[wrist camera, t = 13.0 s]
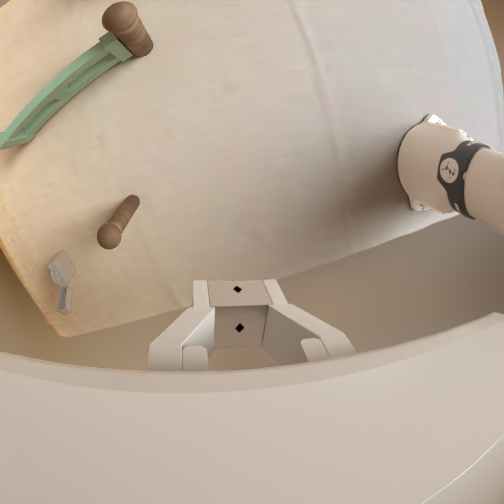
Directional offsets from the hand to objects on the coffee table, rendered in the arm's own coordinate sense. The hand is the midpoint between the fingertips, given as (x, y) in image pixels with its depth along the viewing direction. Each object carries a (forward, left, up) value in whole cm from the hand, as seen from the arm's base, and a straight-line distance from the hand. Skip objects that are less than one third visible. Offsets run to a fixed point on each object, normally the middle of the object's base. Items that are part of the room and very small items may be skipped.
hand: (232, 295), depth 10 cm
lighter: (+22, +16, -29) cm, 40 cm away
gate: (+19, -11, -28) cm, 36 cm away
